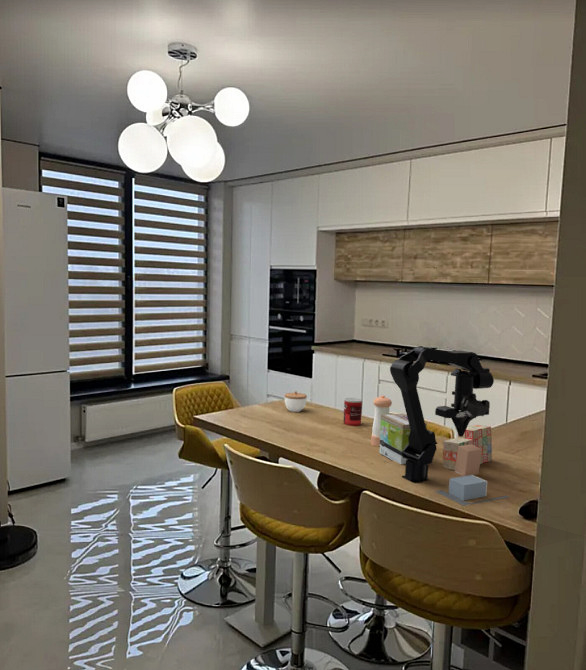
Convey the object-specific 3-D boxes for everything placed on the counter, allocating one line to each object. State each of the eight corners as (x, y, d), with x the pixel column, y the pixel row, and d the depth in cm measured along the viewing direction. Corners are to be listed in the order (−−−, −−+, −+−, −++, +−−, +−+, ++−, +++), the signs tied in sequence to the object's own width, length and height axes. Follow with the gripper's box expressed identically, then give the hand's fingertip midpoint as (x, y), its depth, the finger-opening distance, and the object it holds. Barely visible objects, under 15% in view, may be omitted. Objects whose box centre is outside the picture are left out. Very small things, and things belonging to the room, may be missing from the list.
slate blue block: (486, 496, 165) (463, 500, 161) (471, 489, 170) (448, 493, 166) (487, 481, 164) (464, 485, 160) (472, 474, 170) (449, 478, 166)
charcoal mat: (463, 507, 157) (463, 505, 157) (434, 492, 167) (434, 491, 167) (509, 498, 165) (509, 496, 165) (478, 484, 176) (479, 483, 176)
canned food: (348, 420, 255) (349, 397, 255) (364, 423, 251) (365, 399, 250) (339, 423, 249) (341, 399, 248) (355, 426, 245) (357, 402, 244)
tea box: (378, 453, 205) (380, 413, 204) (401, 451, 209) (403, 412, 208) (400, 466, 191) (403, 423, 190) (425, 464, 195) (428, 422, 194)
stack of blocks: (459, 471, 186) (458, 434, 186) (443, 468, 191) (442, 432, 191) (492, 460, 200) (491, 425, 200) (476, 457, 205) (475, 424, 205)
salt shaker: (368, 445, 216) (371, 396, 214) (373, 440, 223) (375, 393, 221) (387, 447, 213) (390, 398, 212) (391, 443, 220) (394, 395, 219)
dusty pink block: (478, 475, 185) (482, 449, 183) (464, 477, 182) (468, 451, 181) (468, 469, 189) (472, 444, 187) (454, 471, 186) (458, 446, 184)
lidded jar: (306, 408, 278) (307, 390, 277) (305, 413, 267) (306, 394, 266) (285, 407, 279) (285, 388, 278) (282, 412, 268) (283, 392, 267)
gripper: (460, 395, 173) (457, 445, 174) (503, 392, 181) (500, 440, 182) (435, 389, 182) (432, 436, 184) (477, 386, 191) (474, 431, 192)
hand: (460, 436), depth 185 cm, fingers closed
